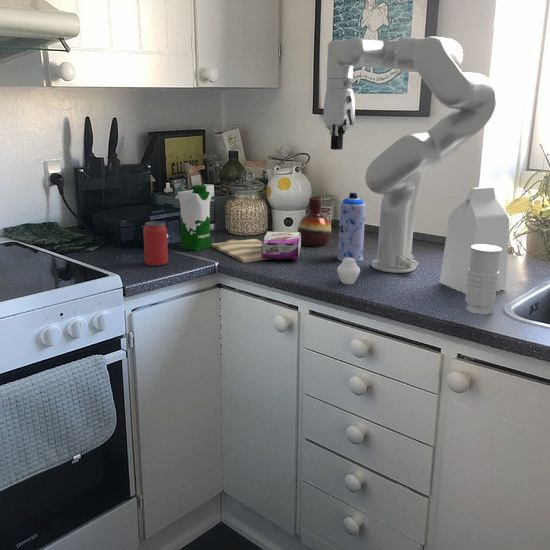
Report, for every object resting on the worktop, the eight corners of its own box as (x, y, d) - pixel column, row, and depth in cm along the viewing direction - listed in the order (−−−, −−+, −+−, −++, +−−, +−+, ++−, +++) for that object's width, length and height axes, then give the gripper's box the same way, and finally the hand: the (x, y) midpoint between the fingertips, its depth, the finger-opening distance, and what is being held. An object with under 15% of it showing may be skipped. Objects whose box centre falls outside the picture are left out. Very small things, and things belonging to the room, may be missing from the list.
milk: (468, 295, 156) (479, 192, 148) (439, 282, 166) (448, 185, 158) (505, 290, 160) (518, 190, 153) (475, 278, 170) (485, 183, 163)
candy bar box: (261, 242, 182) (265, 230, 197) (261, 258, 183) (265, 246, 199) (299, 242, 181) (301, 231, 197) (299, 259, 182) (300, 246, 198)
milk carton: (196, 252, 193) (195, 188, 187) (175, 247, 198) (173, 185, 192) (215, 247, 200) (214, 185, 194) (194, 243, 205) (193, 182, 199)
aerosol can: (335, 255, 192) (337, 191, 187) (359, 255, 193) (363, 191, 187) (339, 262, 185) (342, 195, 179) (365, 261, 185) (369, 195, 180)
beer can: (172, 263, 179) (171, 223, 176) (153, 268, 175) (152, 226, 171) (158, 259, 184) (157, 219, 180) (140, 263, 179) (138, 222, 176)
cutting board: (290, 256, 190) (290, 253, 190) (243, 262, 182) (243, 259, 182) (251, 240, 210) (251, 237, 210) (208, 245, 202) (208, 242, 202)
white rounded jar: (346, 287, 160) (348, 261, 158) (331, 281, 165) (332, 256, 163) (364, 283, 164) (366, 258, 162) (348, 278, 168) (350, 253, 166)
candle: (465, 313, 142) (472, 250, 138) (462, 304, 149) (468, 243, 145) (496, 316, 141) (504, 252, 137) (492, 306, 148) (499, 245, 144)
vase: (295, 240, 211) (296, 195, 207) (327, 240, 212) (329, 195, 208) (299, 248, 201) (301, 200, 196) (333, 247, 202) (335, 200, 197)
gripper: (365, 85, 176) (362, 151, 182) (334, 85, 189) (332, 147, 194) (344, 85, 173) (341, 151, 178) (314, 85, 185) (312, 147, 190)
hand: (336, 149), depth 186 cm, fingers closed
